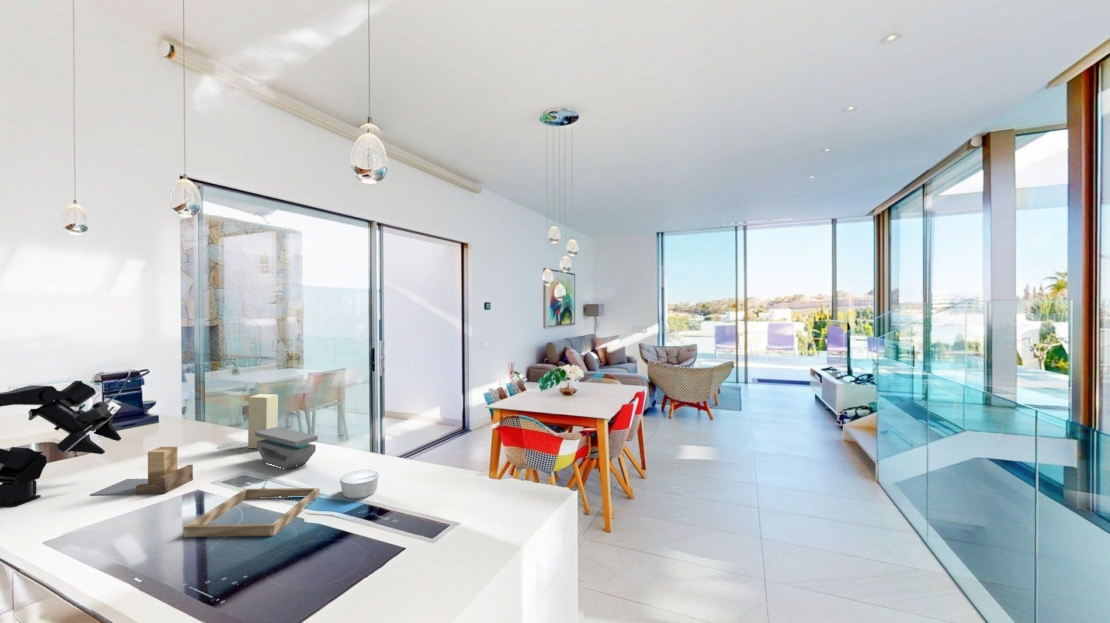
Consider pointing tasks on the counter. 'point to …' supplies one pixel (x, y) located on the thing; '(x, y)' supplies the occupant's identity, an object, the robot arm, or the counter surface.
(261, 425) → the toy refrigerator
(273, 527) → the oak frame
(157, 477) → the teak block
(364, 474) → the ramekin
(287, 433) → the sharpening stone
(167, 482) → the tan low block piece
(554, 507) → the counter surface
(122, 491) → the charcoal rubber mat
